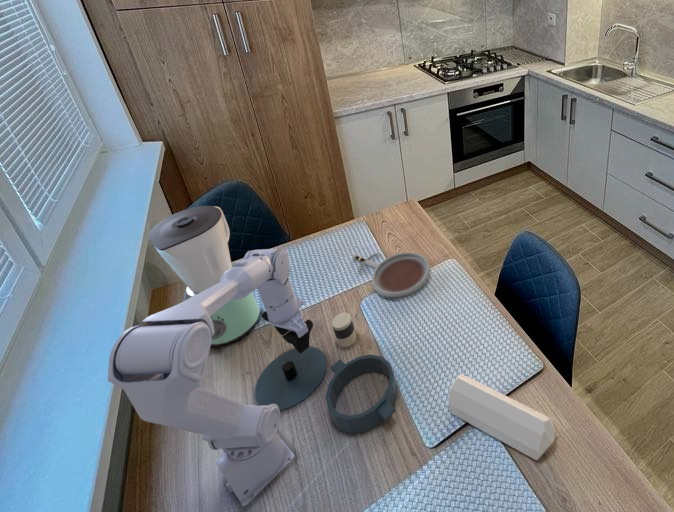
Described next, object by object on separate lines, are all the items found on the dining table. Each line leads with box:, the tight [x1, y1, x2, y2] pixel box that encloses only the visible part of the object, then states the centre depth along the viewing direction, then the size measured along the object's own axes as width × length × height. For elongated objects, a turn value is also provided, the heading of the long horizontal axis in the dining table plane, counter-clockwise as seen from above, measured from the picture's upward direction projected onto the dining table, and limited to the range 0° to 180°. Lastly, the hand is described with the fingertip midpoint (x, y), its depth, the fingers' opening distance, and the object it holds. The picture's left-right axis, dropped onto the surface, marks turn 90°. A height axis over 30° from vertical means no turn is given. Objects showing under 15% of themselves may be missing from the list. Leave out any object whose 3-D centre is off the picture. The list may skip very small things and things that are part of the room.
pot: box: [325, 354, 398, 435], centre depth 87 cm, size 14×19×6 cm
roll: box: [331, 312, 357, 348], centre depth 100 cm, size 4×4×8 cm
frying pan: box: [352, 251, 431, 300], centre depth 122 cm, size 17×3×28 cm
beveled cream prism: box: [447, 373, 556, 461], centre depth 84 cm, size 7×7×24 cm
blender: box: [147, 205, 261, 347], centre depth 100 cm, size 19×13×35 cm
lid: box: [254, 345, 328, 412], centre depth 92 cm, size 15×15×5 cm
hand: (294, 340), depth 91 cm, fingers open, 7 cm apart
